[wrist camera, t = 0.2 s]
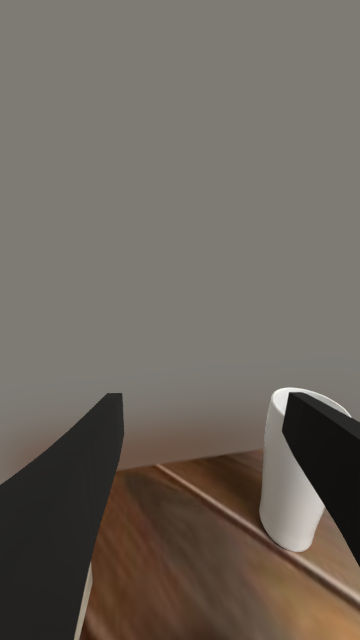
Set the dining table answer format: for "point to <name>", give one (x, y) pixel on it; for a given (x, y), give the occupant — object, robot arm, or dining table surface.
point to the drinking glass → (288, 482)
